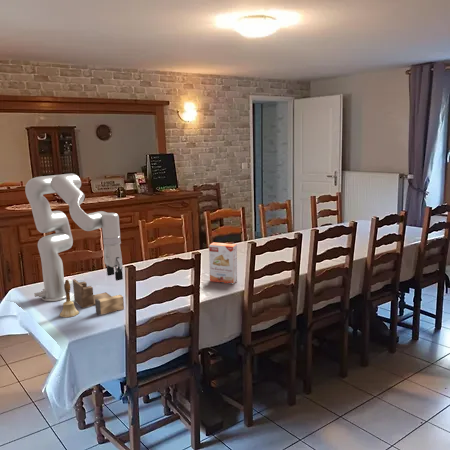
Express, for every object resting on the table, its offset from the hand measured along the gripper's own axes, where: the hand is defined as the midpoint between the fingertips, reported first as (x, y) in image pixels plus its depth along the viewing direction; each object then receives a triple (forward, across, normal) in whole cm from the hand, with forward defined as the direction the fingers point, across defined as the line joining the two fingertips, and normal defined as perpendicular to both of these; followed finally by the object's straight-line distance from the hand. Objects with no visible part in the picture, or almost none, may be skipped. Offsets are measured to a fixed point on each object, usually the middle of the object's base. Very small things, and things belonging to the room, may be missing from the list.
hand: (115, 277), depth 206 cm
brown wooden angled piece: (+15, -18, -4) cm, 24 cm away
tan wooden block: (+15, -1, -3) cm, 16 cm away
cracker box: (+16, -3, +62) cm, 64 cm away
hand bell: (+15, -8, -19) cm, 26 cm away
